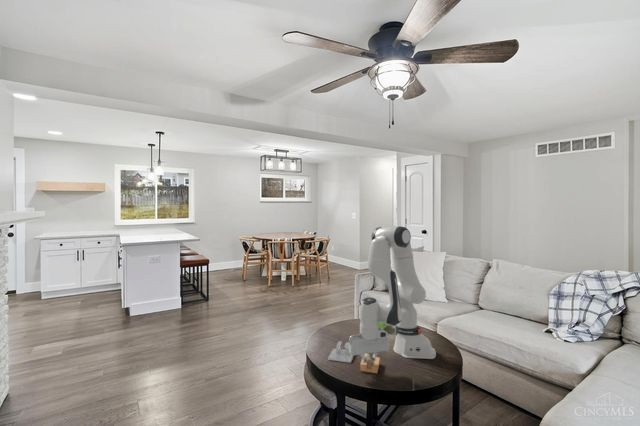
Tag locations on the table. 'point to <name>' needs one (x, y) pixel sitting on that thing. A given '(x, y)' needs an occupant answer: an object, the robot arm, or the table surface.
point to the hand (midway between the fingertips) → (368, 361)
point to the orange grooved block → (372, 369)
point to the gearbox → (381, 325)
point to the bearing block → (341, 353)
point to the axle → (368, 360)
